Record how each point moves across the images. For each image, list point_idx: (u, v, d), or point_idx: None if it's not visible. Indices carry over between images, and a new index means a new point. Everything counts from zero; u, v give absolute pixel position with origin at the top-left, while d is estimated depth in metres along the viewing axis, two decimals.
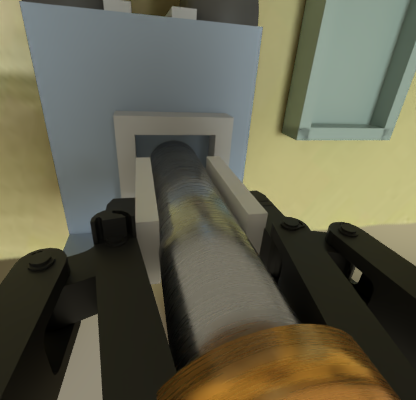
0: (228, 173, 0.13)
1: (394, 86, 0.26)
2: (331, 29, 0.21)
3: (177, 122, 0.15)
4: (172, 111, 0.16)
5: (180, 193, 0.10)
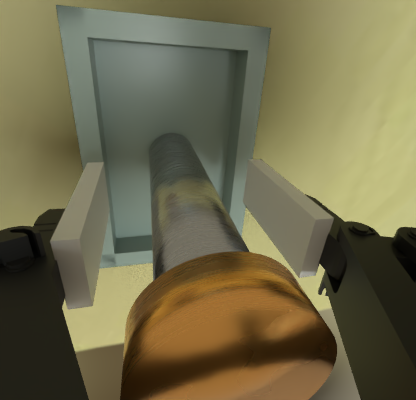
0: (277, 177, 0.13)
1: (229, 196, 0.20)
2: (98, 148, 0.16)
3: None
4: None
5: (172, 174, 0.12)
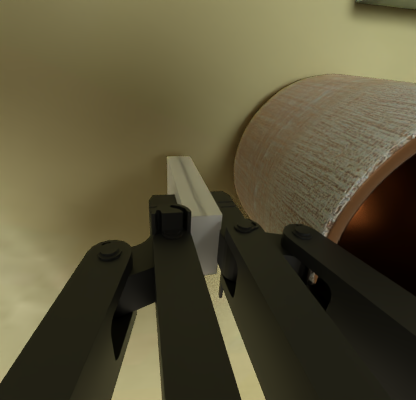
0: (193, 173, 0.12)
1: None
2: None
3: None
4: None
5: None
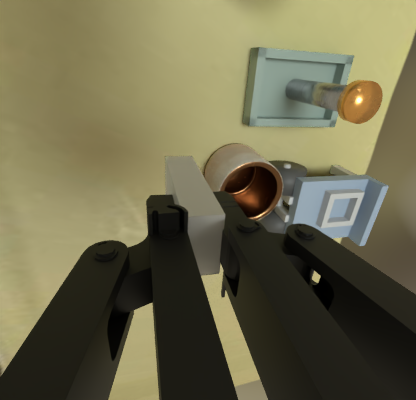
0: (196, 173, 0.13)
1: (321, 62, 0.41)
2: (288, 120, 0.44)
3: (327, 211, 0.45)
4: (320, 207, 0.46)
5: (310, 98, 0.37)
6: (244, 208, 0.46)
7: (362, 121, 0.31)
